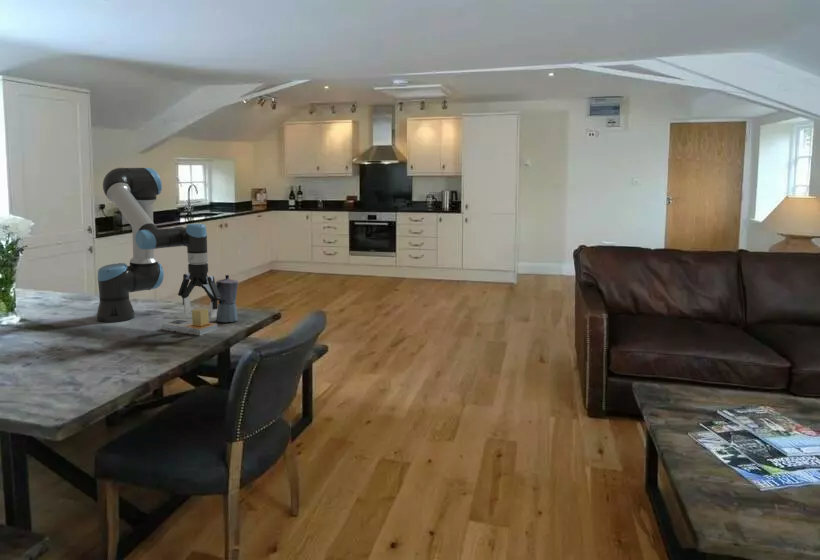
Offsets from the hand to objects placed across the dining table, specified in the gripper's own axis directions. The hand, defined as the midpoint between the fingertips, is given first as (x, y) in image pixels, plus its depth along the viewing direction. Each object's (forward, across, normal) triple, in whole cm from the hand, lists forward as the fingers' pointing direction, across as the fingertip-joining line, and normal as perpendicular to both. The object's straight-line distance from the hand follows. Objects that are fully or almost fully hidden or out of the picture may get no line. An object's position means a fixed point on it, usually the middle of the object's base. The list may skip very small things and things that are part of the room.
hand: (200, 315), depth 251 cm
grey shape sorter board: (+7, -6, 0) cm, 9 cm away
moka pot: (+7, -2, +18) cm, 19 cm away
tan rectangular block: (+7, 0, 0) cm, 7 cm away
